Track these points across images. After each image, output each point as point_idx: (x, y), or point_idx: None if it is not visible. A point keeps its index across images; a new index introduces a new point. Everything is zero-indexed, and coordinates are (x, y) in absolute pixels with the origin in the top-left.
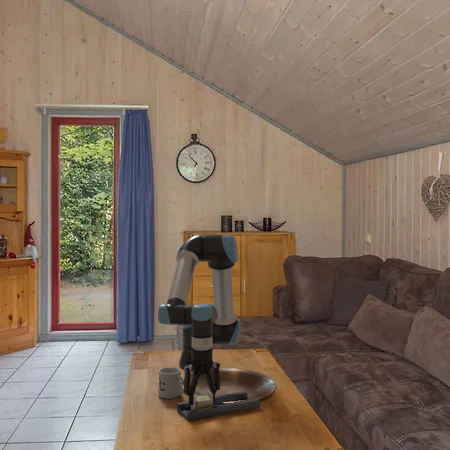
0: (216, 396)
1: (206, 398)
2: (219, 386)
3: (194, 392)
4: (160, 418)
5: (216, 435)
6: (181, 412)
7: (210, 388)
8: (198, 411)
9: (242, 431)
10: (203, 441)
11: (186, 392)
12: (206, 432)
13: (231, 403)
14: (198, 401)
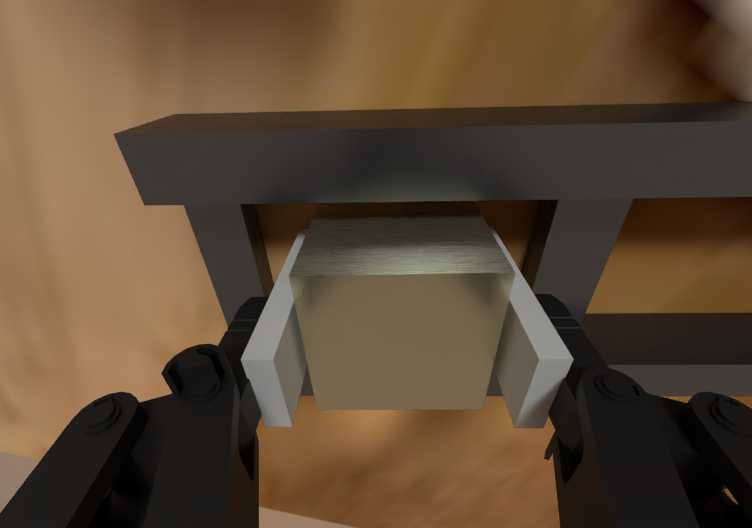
0: (733, 137)
1: (440, 375)
2: (716, 516)
3: (254, 480)
4: (20, 217)
5: (336, 479)
6: (200, 240)
7: (594, 421)
8: (306, 393)
9: (455, 487)
10: (267, 492)
11: (113, 500)
12: (305, 454)
13: (644, 371)
14: (320, 404)
